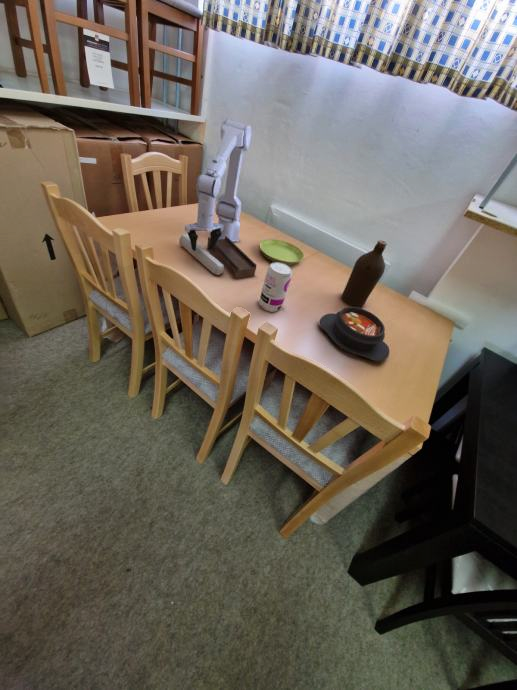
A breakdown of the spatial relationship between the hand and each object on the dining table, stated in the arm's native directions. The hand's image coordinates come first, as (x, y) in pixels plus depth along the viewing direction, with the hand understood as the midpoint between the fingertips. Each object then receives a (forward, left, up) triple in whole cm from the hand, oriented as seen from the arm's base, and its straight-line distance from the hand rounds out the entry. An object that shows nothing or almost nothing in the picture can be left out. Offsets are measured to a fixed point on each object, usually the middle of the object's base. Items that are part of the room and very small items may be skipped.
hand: (202, 248), depth 113 cm
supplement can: (-10, +34, -5) cm, 36 cm away
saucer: (-37, +4, -5) cm, 38 cm away
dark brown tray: (-11, +4, -5) cm, 12 cm away
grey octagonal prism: (0, 0, -5) cm, 5 cm away
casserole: (-27, +59, -5) cm, 65 cm away
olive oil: (-46, +42, -5) cm, 62 cm away
